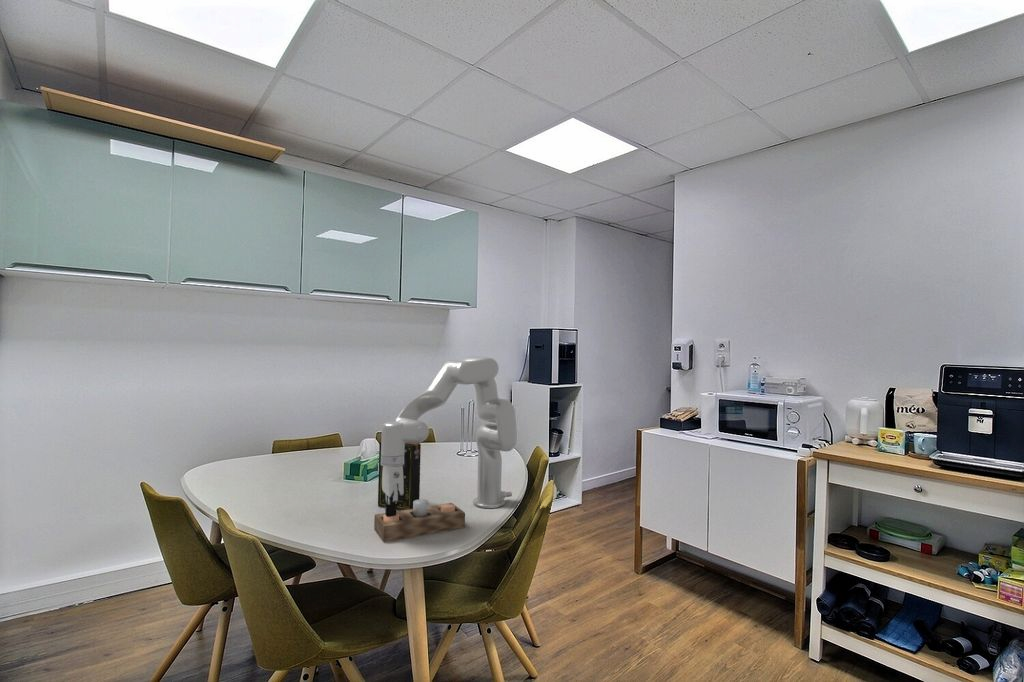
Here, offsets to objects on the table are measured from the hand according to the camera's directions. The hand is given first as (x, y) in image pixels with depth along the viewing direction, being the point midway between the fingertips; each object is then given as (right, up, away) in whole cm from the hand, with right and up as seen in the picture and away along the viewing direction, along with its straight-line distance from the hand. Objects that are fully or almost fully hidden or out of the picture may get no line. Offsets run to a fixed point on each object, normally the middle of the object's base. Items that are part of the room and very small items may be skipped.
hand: (390, 515), depth 157 cm
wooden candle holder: (+9, -6, +5) cm, 12 cm away
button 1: (0, -5, 0) cm, 5 cm away
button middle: (+9, -2, +5) cm, 10 cm away
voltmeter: (-4, -7, +27) cm, 28 cm away
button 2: (+17, -6, +10) cm, 21 cm away
